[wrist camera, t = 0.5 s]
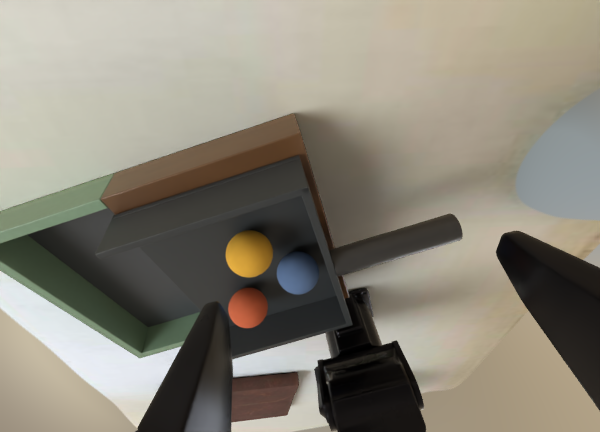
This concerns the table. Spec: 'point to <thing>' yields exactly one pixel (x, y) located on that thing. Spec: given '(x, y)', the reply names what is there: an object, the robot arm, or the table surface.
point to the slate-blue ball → (297, 272)
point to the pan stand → (215, 168)
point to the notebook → (263, 396)
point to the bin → (93, 271)
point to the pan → (284, 239)
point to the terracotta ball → (248, 307)
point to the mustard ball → (249, 253)
